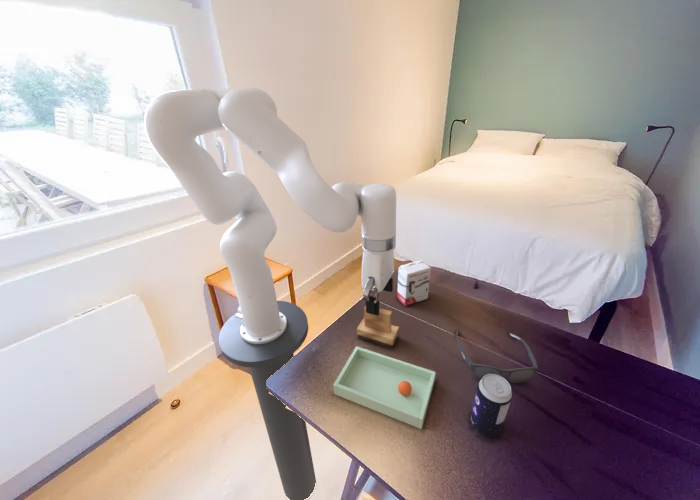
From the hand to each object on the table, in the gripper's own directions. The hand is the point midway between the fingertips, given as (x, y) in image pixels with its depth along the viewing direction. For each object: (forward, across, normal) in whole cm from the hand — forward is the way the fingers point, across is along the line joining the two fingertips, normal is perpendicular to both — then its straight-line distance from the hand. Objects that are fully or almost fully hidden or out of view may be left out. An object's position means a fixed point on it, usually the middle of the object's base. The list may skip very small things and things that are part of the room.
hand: (379, 301), depth 78 cm
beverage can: (+13, +14, +27) cm, 33 cm away
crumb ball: (+10, +14, +11) cm, 20 cm away
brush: (+12, 0, -1) cm, 12 cm away
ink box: (+13, -20, +3) cm, 24 cm away
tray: (+12, +14, +6) cm, 20 cm away
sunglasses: (+13, -5, +27) cm, 31 cm away
